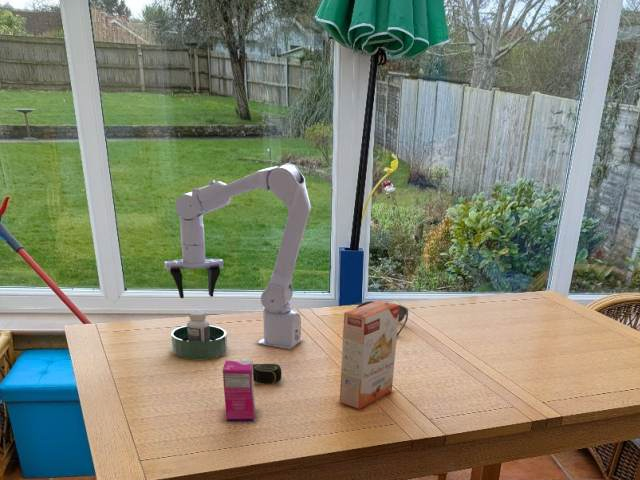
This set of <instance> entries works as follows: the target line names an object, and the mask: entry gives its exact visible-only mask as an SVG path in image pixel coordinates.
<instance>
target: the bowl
mask: <svg viewBox="0 0 640 480" xmlns="http://www.w3.org/2000/svg"><path fill="white" fill-rule="evenodd" d="M209 329H210V341H198V342H197V341H188V330H187V325H184V326H180V327H177V328H174V329H173V330H172V331H171V332H170V335H171V336H170V337H171V347H172V348H171V349H172V354H173V355H175V356H177V357H179V358H182V359H187V360H194V361H195V360H197V361H200V360H201V361H202V360H211V359H217V358H219V357H222V356H224V355H225V354H227V352H228V335H227V334H228V333H227V330H225V329H223V328H222V327H219V326H217V325H216V326H215V325H211V324H209Z"/></svg>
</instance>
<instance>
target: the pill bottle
mask: <svg viewBox="0 0 640 480" xmlns="http://www.w3.org/2000/svg"><path fill="white" fill-rule="evenodd" d="M206 313H207V312H206V311H204V310H201V309H200V310H198V309H196V310H191V311H189V312H188V317H189V319H190V320H188V321H187V323H186V326H187V330H188V341H197V342H198V341H210V329H209V325H210V323H209V321H208V320H207V314H206Z"/></svg>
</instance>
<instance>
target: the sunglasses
mask: <svg viewBox="0 0 640 480" xmlns="http://www.w3.org/2000/svg"><path fill="white" fill-rule="evenodd" d="M372 302H375V301H374V300H373V301H371V300H370V301H364V302H361V303H360V304H358V306H355V308H354V309H356V308H359V307H361V306H364V305H367V304H370V303H372ZM398 305H399V306H400V307H399V317H398V323H399V322H403V320H404V322H403V324H402V326H401V327H400V329H399V330H398V331H397V338H398V337H399V335H400V334H401V332H402V331H403V329H404V327H405V325H406V323H407V322H408V319H409V309H408V308H407V307H405V306H403V305H401V304H398Z"/></svg>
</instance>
